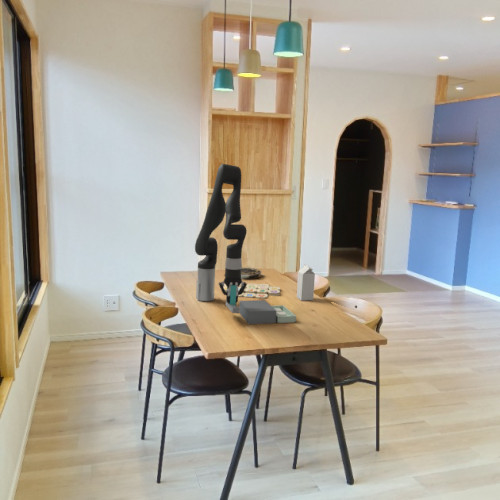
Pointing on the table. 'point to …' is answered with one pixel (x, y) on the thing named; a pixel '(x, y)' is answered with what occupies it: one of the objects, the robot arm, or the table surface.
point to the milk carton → (305, 283)
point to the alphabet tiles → (257, 290)
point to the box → (285, 319)
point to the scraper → (233, 301)
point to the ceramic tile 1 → (281, 313)
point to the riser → (257, 312)
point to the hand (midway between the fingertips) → (231, 303)
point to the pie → (250, 273)
